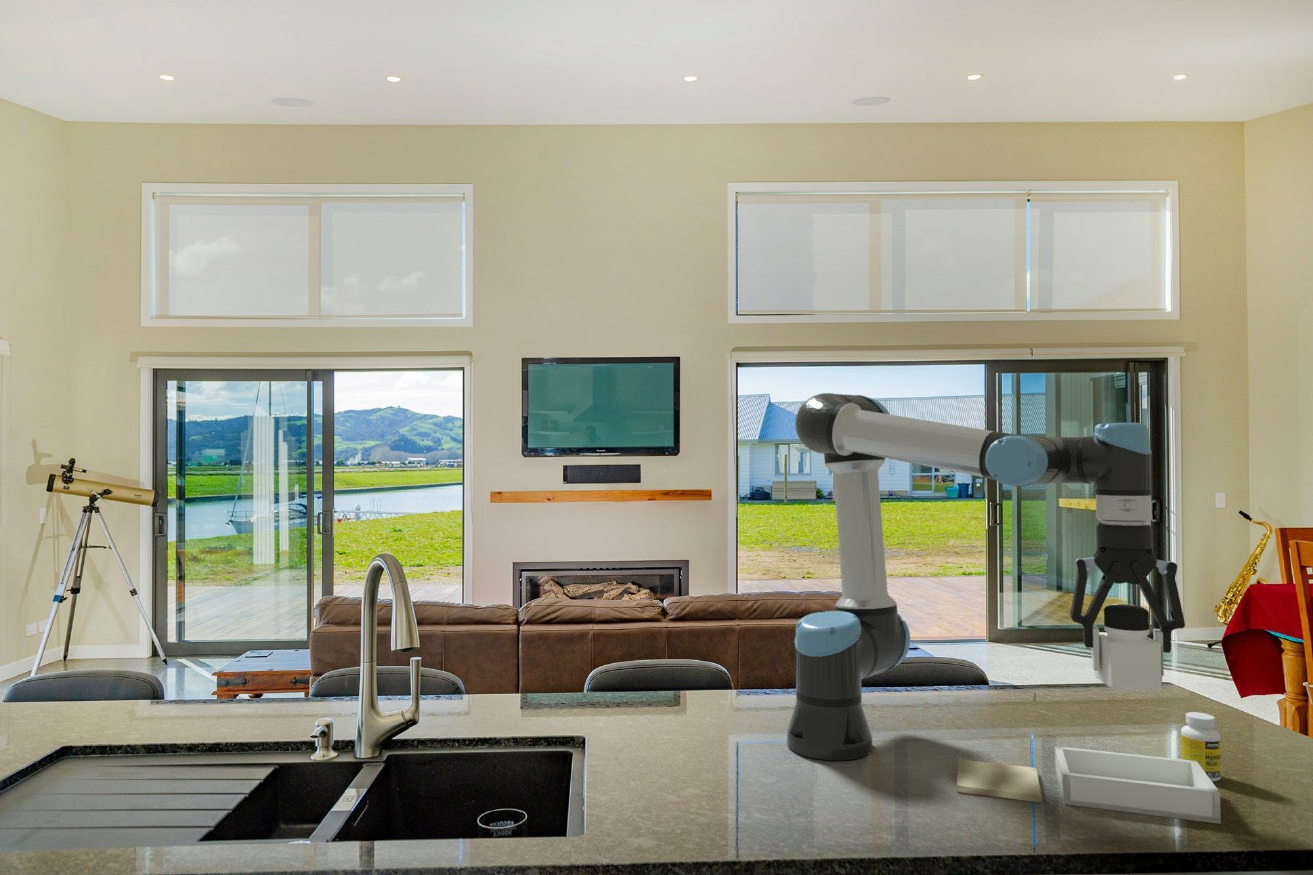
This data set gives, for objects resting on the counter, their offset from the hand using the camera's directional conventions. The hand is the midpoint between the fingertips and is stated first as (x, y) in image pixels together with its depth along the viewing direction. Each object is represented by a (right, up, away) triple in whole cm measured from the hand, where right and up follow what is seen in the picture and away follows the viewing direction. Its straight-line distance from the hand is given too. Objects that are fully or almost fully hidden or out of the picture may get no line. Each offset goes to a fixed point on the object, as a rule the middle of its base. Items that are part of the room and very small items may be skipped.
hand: (1126, 670), depth 127 cm
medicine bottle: (0, -2, 0) cm, 2 cm away
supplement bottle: (+16, -19, +7) cm, 26 cm away
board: (-18, -19, +5) cm, 27 cm away
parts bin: (0, -19, -1) cm, 19 cm away
